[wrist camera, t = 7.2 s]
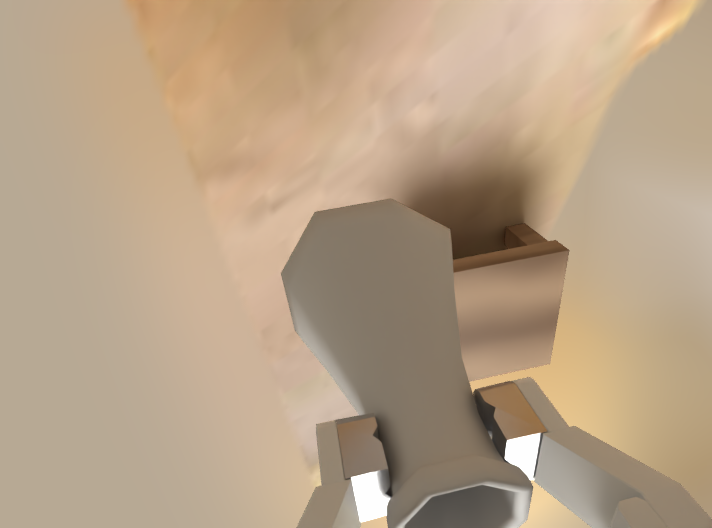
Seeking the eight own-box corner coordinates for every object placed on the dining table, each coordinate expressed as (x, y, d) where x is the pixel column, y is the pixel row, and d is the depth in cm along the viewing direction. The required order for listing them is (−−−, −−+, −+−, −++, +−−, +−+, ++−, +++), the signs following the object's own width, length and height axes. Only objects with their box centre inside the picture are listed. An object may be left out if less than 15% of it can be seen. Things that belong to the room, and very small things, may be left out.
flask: (293, 182, 15) (319, 401, 6) (475, 207, 16) (693, 405, 8) (270, 341, 18) (268, 627, 9) (424, 348, 20) (539, 594, 11)
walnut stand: (398, 243, 30) (419, 279, 26) (528, 219, 31) (569, 250, 27) (405, 347, 35) (424, 391, 31) (517, 324, 36) (550, 363, 32)
